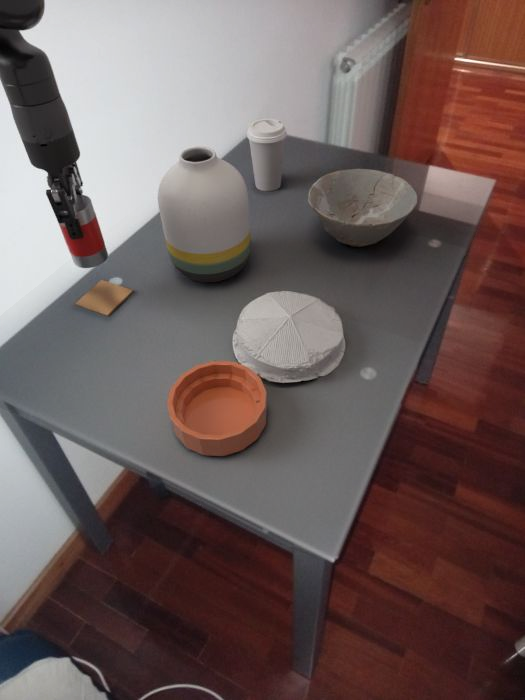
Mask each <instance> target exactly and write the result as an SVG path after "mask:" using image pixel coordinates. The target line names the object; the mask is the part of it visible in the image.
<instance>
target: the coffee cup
mask: <svg viewBox="0 0 525 700" xmlns="http://www.w3.org/2000/svg"><path fill="white" fill-rule="evenodd" d="M246 137H247V139H248V141H249V148H250V155H251V163H252V170H253V171H252V172H253V177H254V183H255V184H254V185H255V188H256V189H257V190H259V191H262V192H272V191H276V190H278V189H280V188H281V186H282V176H283V175H282V173H283V164H284V162H283V161H284V152H285V140H286V138H287V137H288V132H287V129H286V126H285V125H284V123H283V121H281V120H279V119H276V118H260V119H256V120H254V121H252V122H251V123H250V124H249V127H248V129H247V132H246Z"/></svg>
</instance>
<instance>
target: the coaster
mask: <svg viewBox="0 0 525 700" xmlns="http://www.w3.org/2000/svg"><path fill="white" fill-rule="evenodd" d="M133 293H134V289H130V288H127V287H125V286H122V285H120V284H115V283H113V282H109V281H107V280H103V279H101V280H100V281H98V282H97V283H96V284H95V285H94V286H93V287H92V288H91V289H89V290H88V291H87V292H86V293H85V294H84V295H83V296H82V297H81V298H79V299H78V300H77V301H76V302H75V306H78V307H80V308H83V309H86V310H89V311H92V312H95V313H97V314H100V315H104V316H106V317H109V316H111V314H112V313H113V312H114V311H116V309H117V308H119V306H120V305H121V304H123V303H124V302H125V301H126V300H127V299H128V298H129V296H131V295H132V294H133Z"/></svg>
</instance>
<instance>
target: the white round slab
mask: <svg viewBox="0 0 525 700" xmlns="http://www.w3.org/2000/svg"><path fill="white" fill-rule="evenodd" d="M343 328H344V326H343V322H342V320H341V318H340V315H339V313H338V312H336V310H335V307H334V306H332V305H329V304H327V303H326V302H325V300H321V298H318V297H315V296H314V295H310V294H309V293H307V292H306V293H300V292H296V291H291V290H281V291H271V292H270V291H267V293H265V294H263V295H261V296H258V297H256V298H255V299H253V300H252V301H250V302H249V303H247V305H245V306H244V307H243V309H242V310H241V311H240V314H239V316H238V319H237V323H236V327H235V330H234V332H233V335H232V349H233V353H234V355H235V359H237V363H238V364H241V365H244V366H247V367H249V368H250V369H251V370H252V371H253V372H254V373H256V374H257V375H258V376H259V377H260V378H261V379H265V380H267V381H269V382H273V383H282V384H285V383H299V382H301V381H304V382H305V381H310V380H315V379H318V378H319V377H325V376H327V375H329V374H330V373H332V372H334V371H335V370H336V369H337V368H338V366H339V365H340V363H341V361H342V359H343V357H344V355H345V351H346V340H345V335H344V329H343Z"/></svg>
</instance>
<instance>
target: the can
mask: <svg viewBox="0 0 525 700" xmlns="http://www.w3.org/2000/svg"><path fill="white" fill-rule="evenodd" d="M76 196H77V201H78V202H77V204H76V205H75V206H76V211H77V214H78V219H79V222H80V225H81V228H82V230H83V233H84V236H83V238H82V239H71V238H70V236H69V234H68V231H67V228H66V226H65V223H61V224H59V223H58V226H59V228H60V232H61V233H62V236H63V239H64V241H65V244H66V246H67V249H68V252H69V253H70V257H71V260H72V262H73V263H74V265H75V266H76V267H78V268H81V269H91V268H92V269H93V268H96V267H98V266H100V265H102V264H103V263H105V262H106V261H107V260H108V257H109V253H108V249H107V247H106V243H105V239H104V236H103V233H102V230H101V227H100V224H99V220H98V217H97V214H96V210H95V209H94V205H93V202H92V199H91V197H89V196H88V195H85V194H83V195H76ZM67 198H68V200H70V199H71V196H68V197H67ZM64 213H68V212H67V211H64Z"/></svg>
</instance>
